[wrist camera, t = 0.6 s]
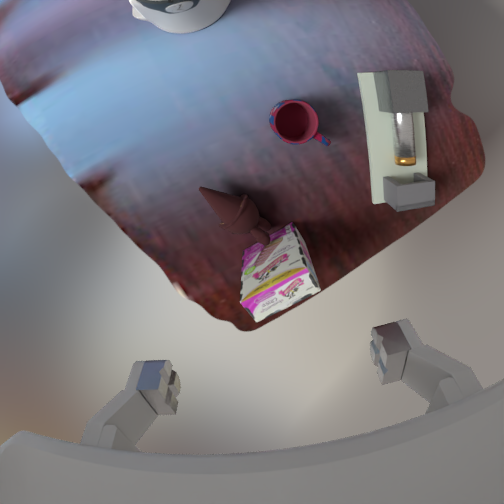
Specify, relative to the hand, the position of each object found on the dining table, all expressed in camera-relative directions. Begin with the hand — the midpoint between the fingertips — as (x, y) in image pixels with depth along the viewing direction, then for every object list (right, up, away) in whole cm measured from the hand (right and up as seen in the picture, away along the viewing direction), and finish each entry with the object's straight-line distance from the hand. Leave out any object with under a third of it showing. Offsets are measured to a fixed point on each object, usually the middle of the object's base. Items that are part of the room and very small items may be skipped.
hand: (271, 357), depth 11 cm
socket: (+27, +16, +39) cm, 51 cm away
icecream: (-3, +12, +43) cm, 44 cm away
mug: (+7, +25, +36) cm, 44 cm away
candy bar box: (+3, +5, +46) cm, 47 cm away
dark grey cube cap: (+24, +32, +31) cm, 50 cm away
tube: (+25, +27, +34) cm, 50 cm away
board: (+25, +25, +36) cm, 50 cm away
